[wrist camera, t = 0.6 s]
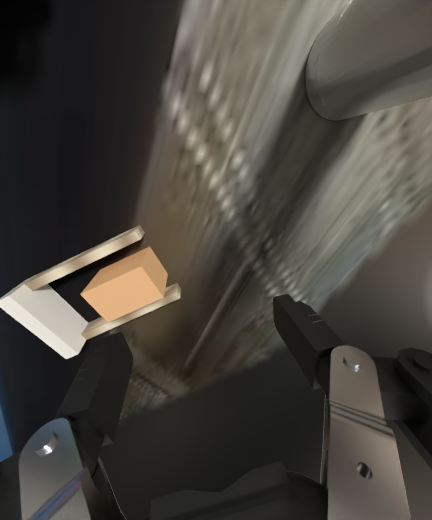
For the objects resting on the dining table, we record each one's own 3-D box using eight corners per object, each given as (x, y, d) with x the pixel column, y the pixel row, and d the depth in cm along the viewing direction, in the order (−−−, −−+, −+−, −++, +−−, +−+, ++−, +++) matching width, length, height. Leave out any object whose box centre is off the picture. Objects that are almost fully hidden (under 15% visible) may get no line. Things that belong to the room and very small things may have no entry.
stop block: (37, 274, 28) (8, 295, 23) (93, 327, 33) (78, 353, 28) (25, 280, 28) (-6, 302, 23) (82, 332, 33) (66, 359, 28)
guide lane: (139, 225, 26) (135, 230, 24) (180, 288, 32) (180, 298, 29) (37, 274, 28) (24, 284, 25) (93, 327, 33) (86, 339, 30)
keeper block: (149, 246, 28) (140, 266, 23) (167, 273, 30) (163, 297, 25) (100, 269, 29) (80, 294, 23) (121, 294, 31) (107, 322, 26)
